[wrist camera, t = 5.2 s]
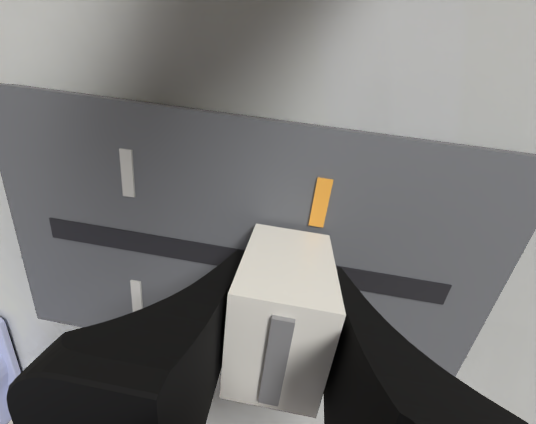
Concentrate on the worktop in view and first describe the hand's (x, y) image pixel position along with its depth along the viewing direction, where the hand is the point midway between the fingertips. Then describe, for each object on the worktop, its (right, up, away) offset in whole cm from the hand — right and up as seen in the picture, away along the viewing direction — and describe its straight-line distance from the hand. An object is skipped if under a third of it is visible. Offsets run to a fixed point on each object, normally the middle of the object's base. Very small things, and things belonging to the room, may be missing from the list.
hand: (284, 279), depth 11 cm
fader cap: (0, 0, +1) cm, 1 cm away
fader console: (-2, +1, +2) cm, 3 cm away
